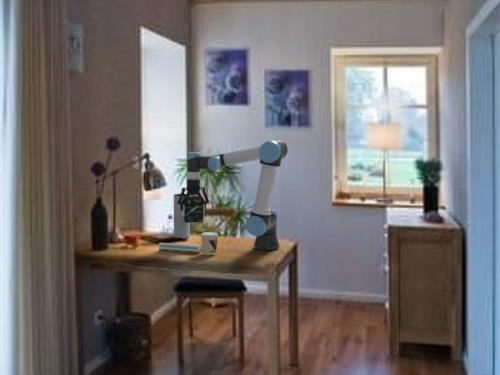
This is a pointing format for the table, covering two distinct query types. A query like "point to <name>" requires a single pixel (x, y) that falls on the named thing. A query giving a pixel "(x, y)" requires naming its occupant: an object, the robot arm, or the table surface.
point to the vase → (180, 221)
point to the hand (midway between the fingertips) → (193, 215)
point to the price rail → (179, 247)
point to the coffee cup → (209, 243)
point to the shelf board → (182, 250)
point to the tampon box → (193, 209)
